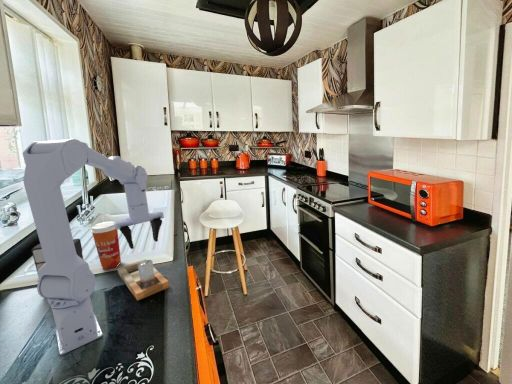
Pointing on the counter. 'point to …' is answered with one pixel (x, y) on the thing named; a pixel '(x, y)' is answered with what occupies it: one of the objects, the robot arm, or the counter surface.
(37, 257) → the calculator
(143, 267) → the peg
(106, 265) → the coffee cup
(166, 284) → the wooden slotted board
